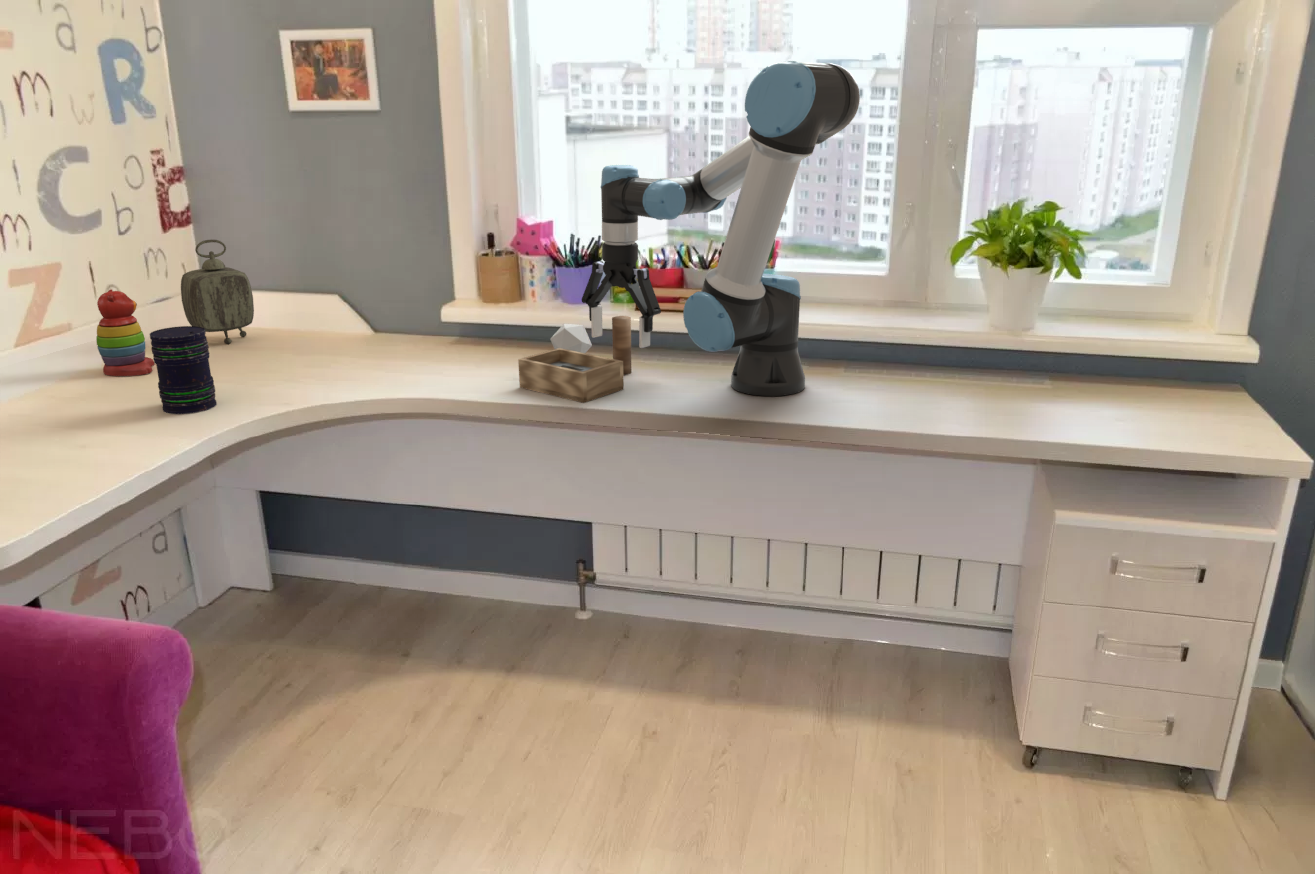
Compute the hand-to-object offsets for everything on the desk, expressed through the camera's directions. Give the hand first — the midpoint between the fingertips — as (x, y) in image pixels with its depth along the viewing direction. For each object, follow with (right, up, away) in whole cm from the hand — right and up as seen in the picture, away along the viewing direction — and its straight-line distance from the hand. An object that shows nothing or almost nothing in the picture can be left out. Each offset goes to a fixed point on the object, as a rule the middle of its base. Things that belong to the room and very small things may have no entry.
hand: (620, 341), depth 215 cm
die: (-12, -3, +14) cm, 18 cm away
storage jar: (-83, -15, -20) cm, 87 cm away
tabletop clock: (-98, +2, +30) cm, 103 cm away
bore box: (-10, -11, -10) cm, 17 cm away
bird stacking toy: (-109, -6, +5) cm, 109 cm away
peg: (0, -6, +2) cm, 7 cm away
